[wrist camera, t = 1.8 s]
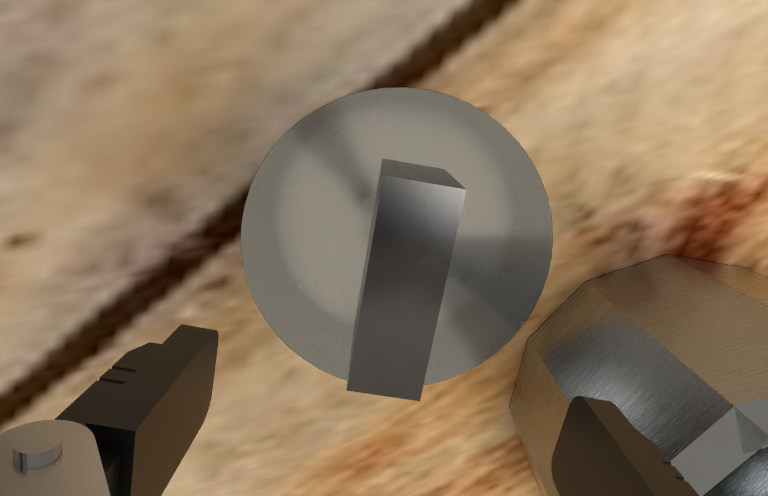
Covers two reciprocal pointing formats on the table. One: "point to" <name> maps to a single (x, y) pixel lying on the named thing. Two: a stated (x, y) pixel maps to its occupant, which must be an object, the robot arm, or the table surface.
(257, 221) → the lid
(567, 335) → the pot
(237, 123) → the table surface
